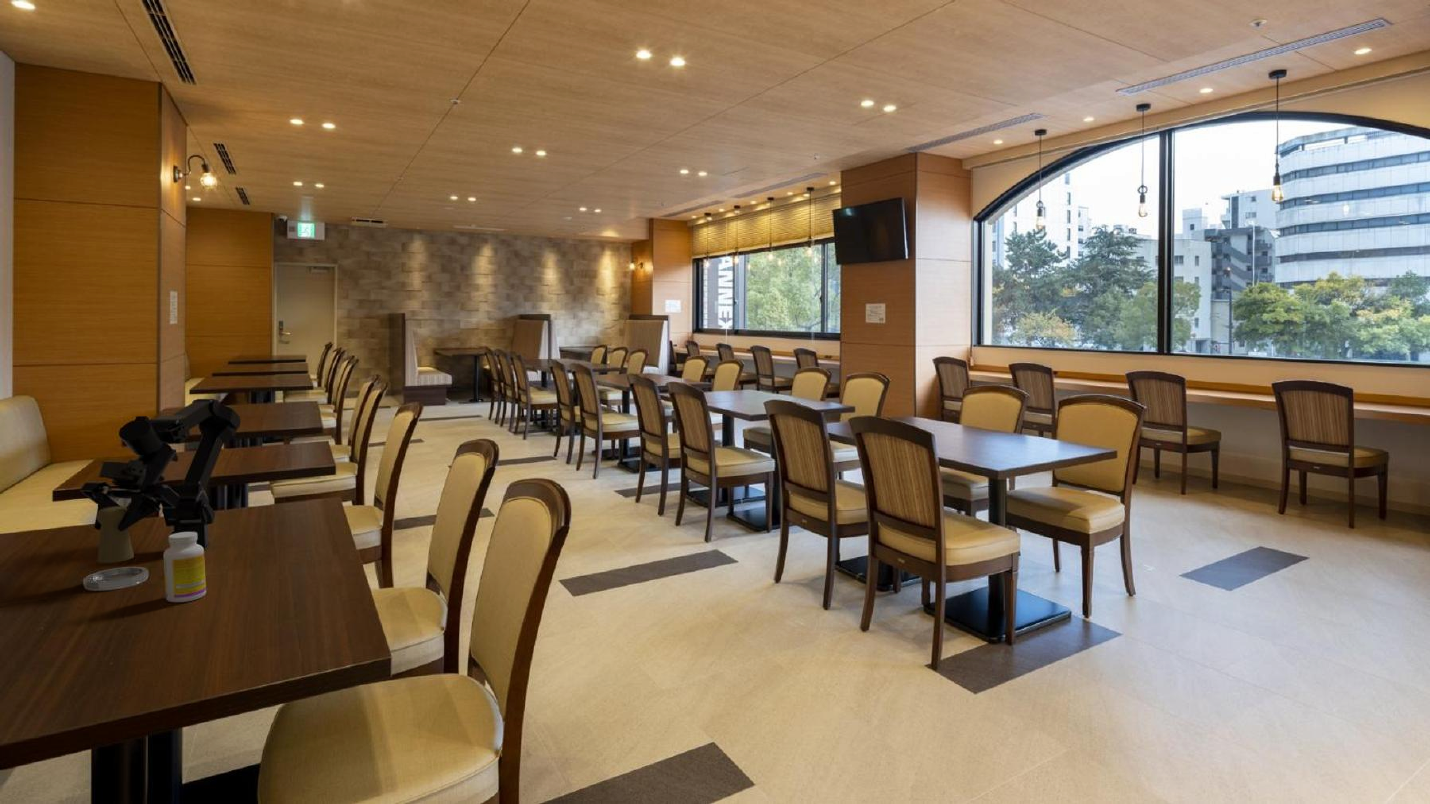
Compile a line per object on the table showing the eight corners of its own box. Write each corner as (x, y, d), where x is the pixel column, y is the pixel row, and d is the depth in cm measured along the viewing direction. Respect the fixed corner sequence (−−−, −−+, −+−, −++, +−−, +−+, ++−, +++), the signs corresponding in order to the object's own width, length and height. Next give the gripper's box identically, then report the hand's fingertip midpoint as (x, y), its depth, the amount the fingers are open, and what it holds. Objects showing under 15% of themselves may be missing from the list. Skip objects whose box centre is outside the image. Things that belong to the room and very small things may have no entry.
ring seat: (154, 572, 167) (154, 564, 167) (138, 587, 157) (137, 579, 157) (96, 577, 163) (95, 569, 163) (75, 593, 154) (75, 585, 153)
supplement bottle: (214, 594, 154) (211, 532, 153) (182, 605, 148) (178, 540, 147) (190, 590, 156) (187, 528, 155) (157, 600, 150) (154, 537, 149)
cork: (114, 564, 156) (110, 511, 155) (89, 561, 158) (85, 509, 156) (141, 555, 162) (138, 504, 161) (117, 553, 164) (114, 502, 162)
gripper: (84, 444, 162) (38, 507, 153) (165, 447, 160) (123, 511, 151) (119, 473, 171) (77, 535, 161) (196, 476, 169) (158, 539, 159)
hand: (108, 529), depth 158 cm, fingers closed on cork, 5 cm apart
